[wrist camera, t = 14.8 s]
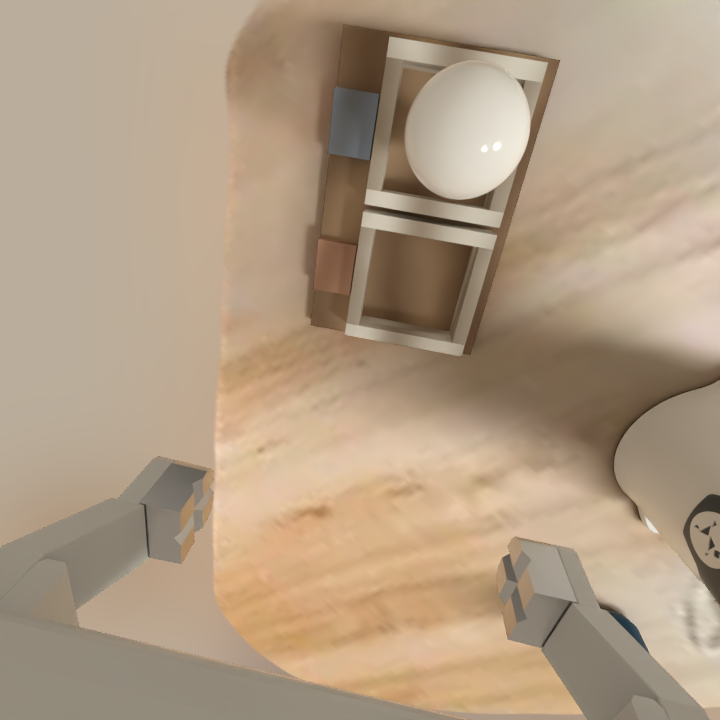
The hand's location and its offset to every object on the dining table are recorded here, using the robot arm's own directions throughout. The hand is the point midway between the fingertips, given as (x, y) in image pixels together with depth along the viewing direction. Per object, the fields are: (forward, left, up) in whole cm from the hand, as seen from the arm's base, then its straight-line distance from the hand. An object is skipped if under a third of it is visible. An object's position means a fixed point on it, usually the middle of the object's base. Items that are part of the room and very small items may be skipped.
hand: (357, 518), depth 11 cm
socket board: (-1, -5, -26) cm, 26 cm away
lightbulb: (-2, -10, -25) cm, 27 cm away
